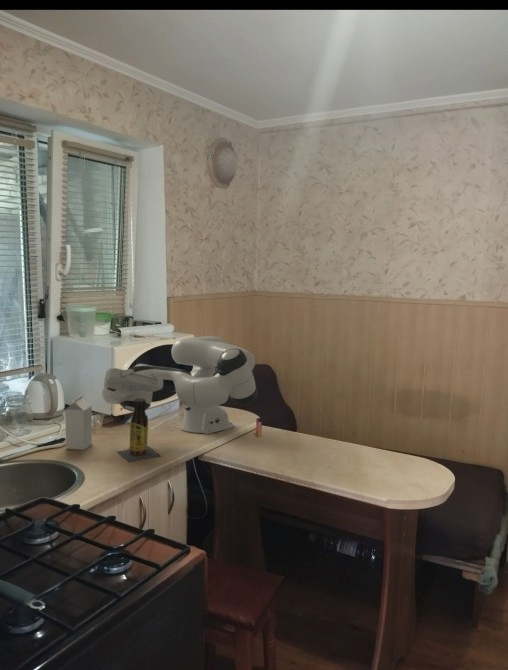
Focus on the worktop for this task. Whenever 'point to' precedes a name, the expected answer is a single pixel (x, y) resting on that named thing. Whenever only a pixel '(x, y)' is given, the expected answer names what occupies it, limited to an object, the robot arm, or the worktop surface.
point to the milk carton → (78, 424)
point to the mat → (131, 457)
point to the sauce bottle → (139, 428)
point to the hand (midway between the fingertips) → (144, 374)
